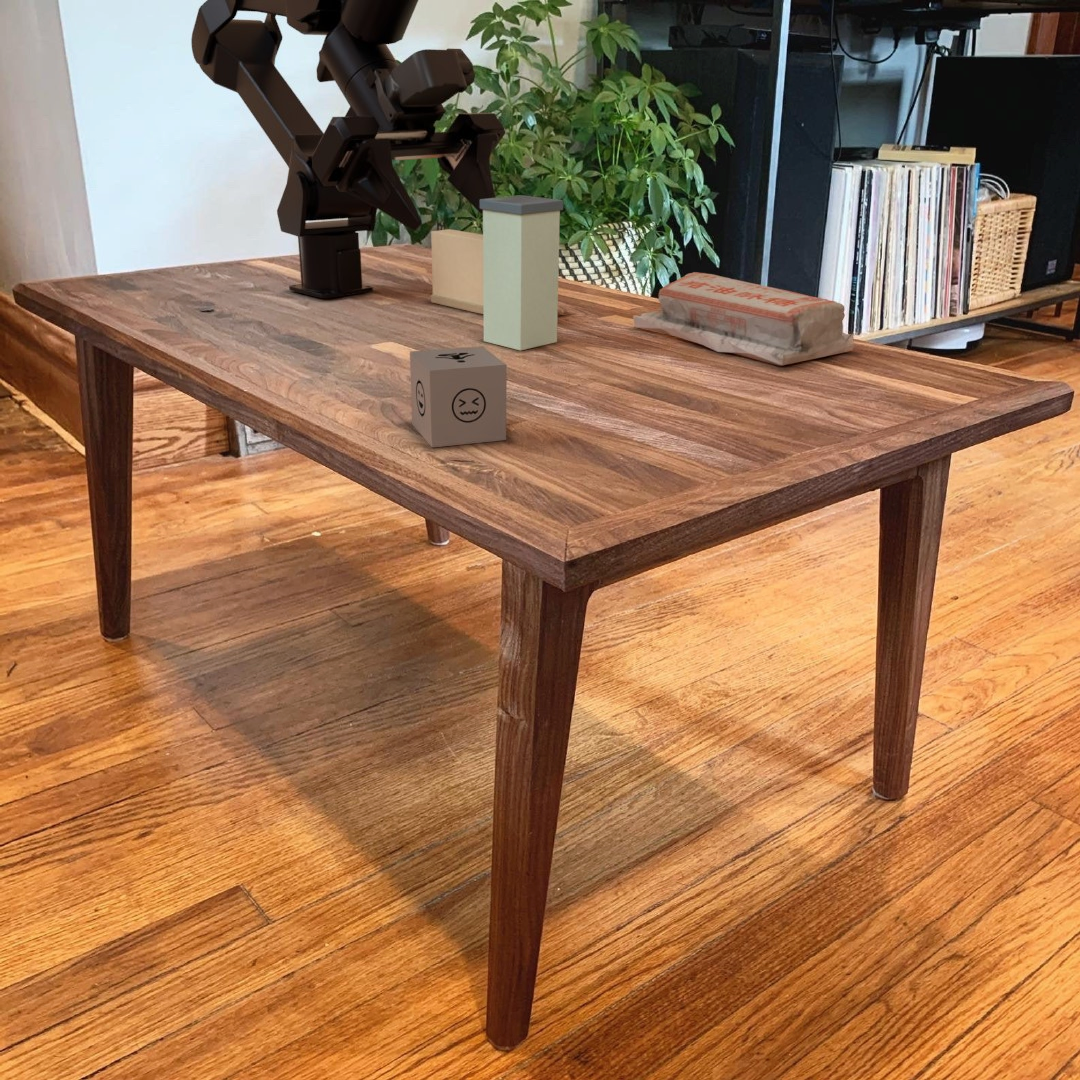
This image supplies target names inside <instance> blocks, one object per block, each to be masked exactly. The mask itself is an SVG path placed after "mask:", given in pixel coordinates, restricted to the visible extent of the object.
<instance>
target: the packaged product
mask: <svg viewBox="0 0 1080 1080" xmlns="http://www.w3.org/2000/svg"><path fill="white" fill-rule="evenodd" d="M658 301H659V303H660V309H661V310H655V311H649V312H643V313H641V315H635V314H634V315H632V321H633V327H634V328H637V329H641V330H646V331H650V332H654V333H659V334H662V335H666V336H672V337H674V338H678V339H682V340H685V341H688V342H691V343H695V344H698V345H702V346H704V347H706V348H709V349H711V350H713V351H715V352H717V353H729V354H734V355H737V356H740V357H744V358H749V359H752V360H755V361H760V362H763V363H767V364H771V365H775V366H785V365H791V364H795V363H800V362H804V361H809V360H815V359H819V358H825V357H828V356H833V355H837V354H843V353H847V352H851V351H854V347H855V339H854V337H855V336H854V333H845V332H844V324H843V321H844V318H845V316H846V315H845V310H846V309H845V305H843V304H842V303H840V302H837V301H835V300H831V299H827V298H822V297H816V296H811V295H808V294H803V293H798V292H796V291H790V290H787V289H782V288H777V287H772V286H768V285H762V284H758V283H753V282H748V281H743V280H739V279H735V278H730V277H725V276H720V275H718V274H717V275H716V274H713V273H706V272H697V271H693V272H690V273H687V274H685V275H684V276H682V277H680V278H678V279H676V280H675V281H672V282H669V283H667V284H666V285H665V286H663V287H662V288H660V289H659V291H658Z"/></svg>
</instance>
